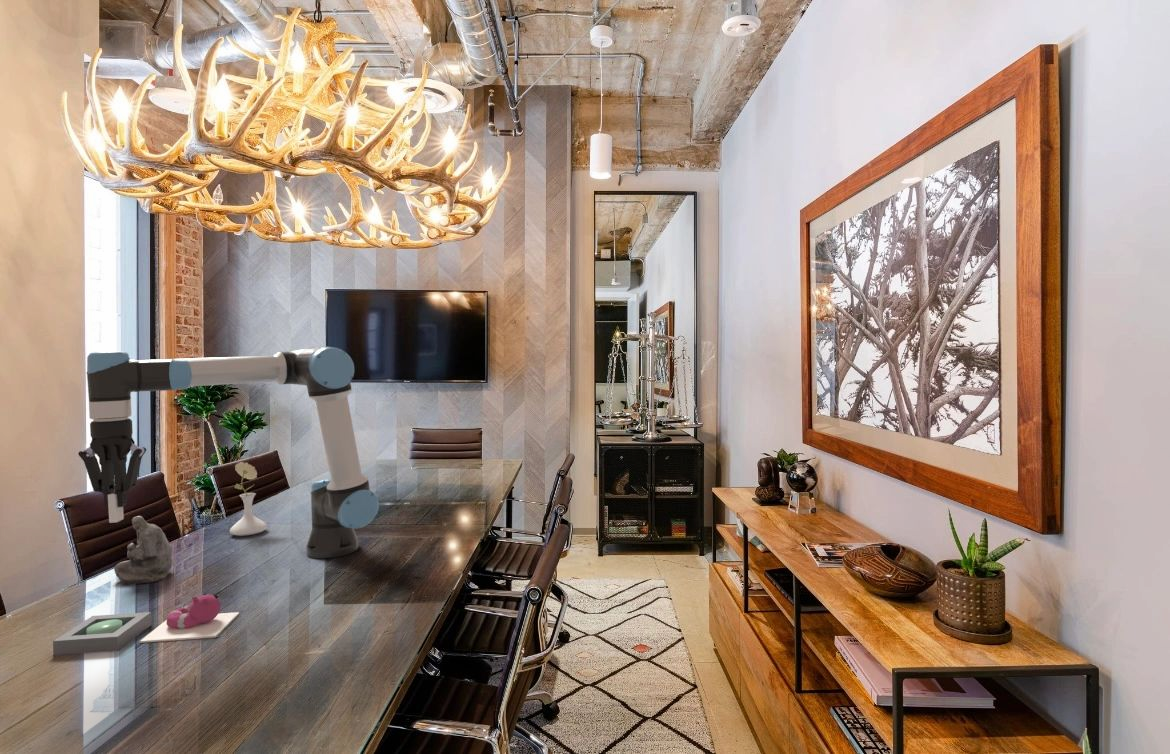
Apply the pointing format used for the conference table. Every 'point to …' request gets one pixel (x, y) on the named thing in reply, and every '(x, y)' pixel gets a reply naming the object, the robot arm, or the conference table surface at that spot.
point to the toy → (195, 612)
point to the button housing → (83, 643)
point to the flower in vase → (247, 505)
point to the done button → (104, 627)
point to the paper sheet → (191, 630)
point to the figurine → (145, 555)
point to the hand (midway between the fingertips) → (116, 520)
